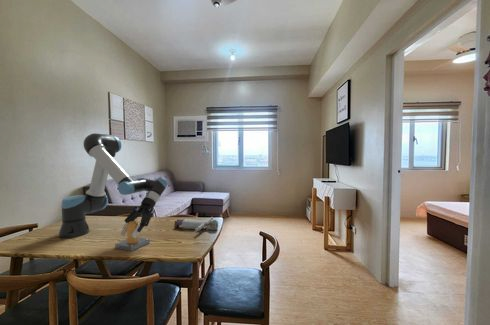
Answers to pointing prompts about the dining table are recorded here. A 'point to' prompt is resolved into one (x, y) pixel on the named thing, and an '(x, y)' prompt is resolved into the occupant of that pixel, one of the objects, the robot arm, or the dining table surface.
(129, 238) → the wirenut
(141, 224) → the robot arm
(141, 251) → the dining table surface
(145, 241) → the grey base with peg
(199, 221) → the toy
